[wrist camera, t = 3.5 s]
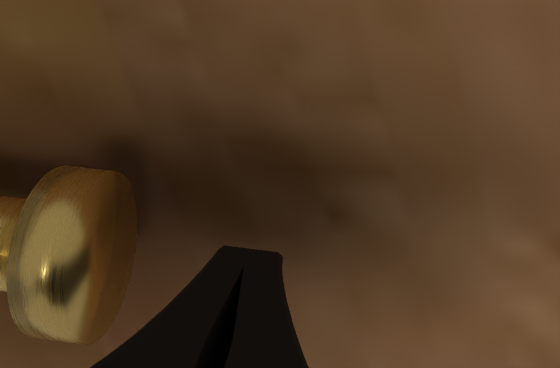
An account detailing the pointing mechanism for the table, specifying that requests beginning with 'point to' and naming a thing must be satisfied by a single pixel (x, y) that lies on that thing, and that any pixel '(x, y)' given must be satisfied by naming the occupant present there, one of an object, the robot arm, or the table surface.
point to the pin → (68, 253)
